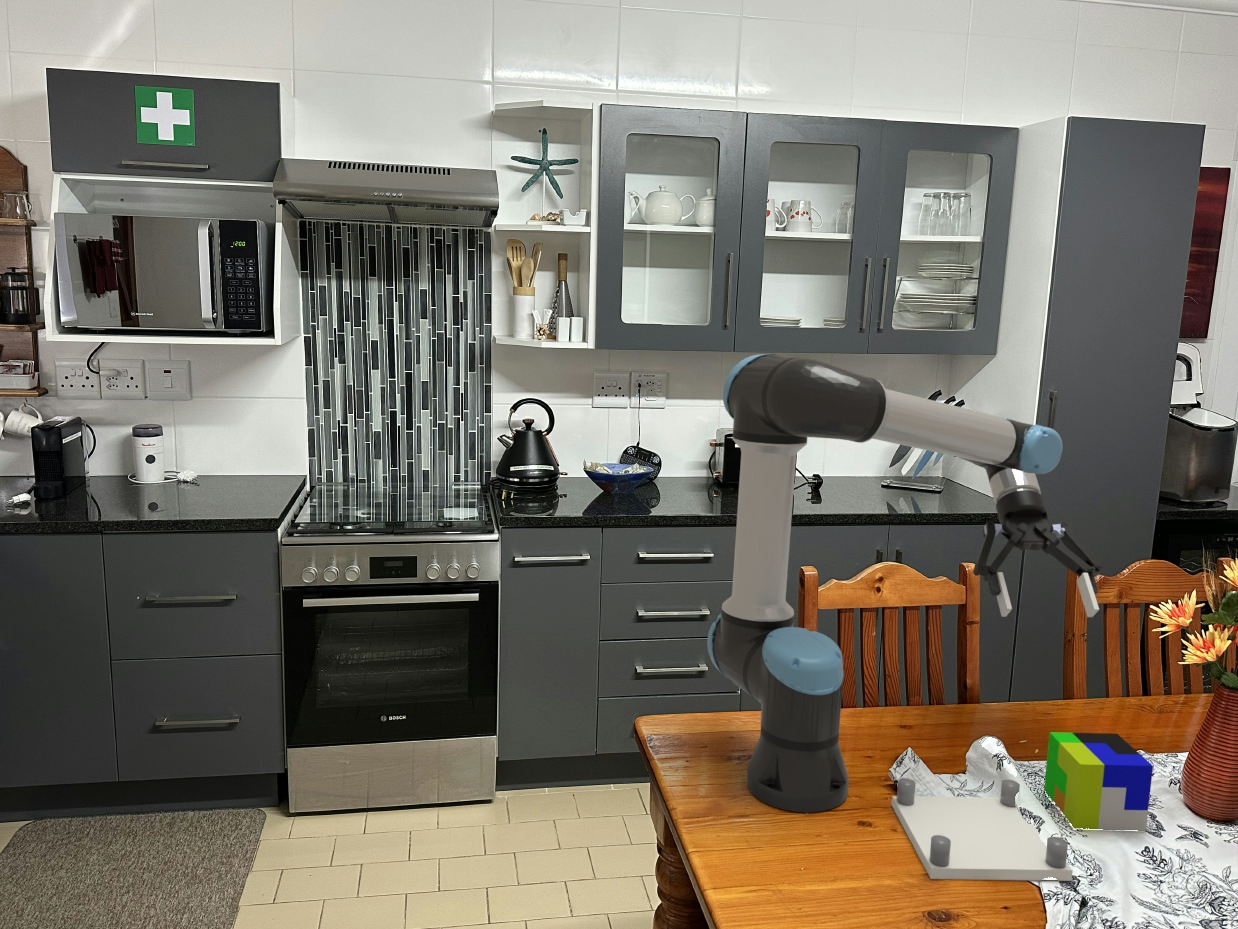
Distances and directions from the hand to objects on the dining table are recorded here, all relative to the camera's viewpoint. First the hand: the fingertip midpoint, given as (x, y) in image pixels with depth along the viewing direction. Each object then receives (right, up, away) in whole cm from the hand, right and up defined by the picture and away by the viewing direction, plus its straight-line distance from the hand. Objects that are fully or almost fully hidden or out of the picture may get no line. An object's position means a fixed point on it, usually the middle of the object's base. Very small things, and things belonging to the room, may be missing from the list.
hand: (1050, 613), depth 149 cm
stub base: (-19, -28, -19) cm, 39 cm away
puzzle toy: (+1, -28, -11) cm, 30 cm away
